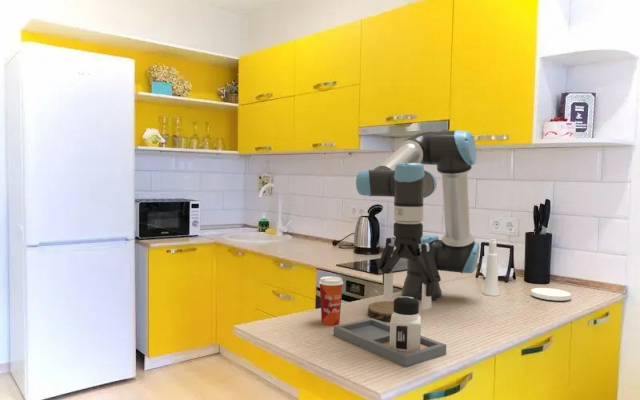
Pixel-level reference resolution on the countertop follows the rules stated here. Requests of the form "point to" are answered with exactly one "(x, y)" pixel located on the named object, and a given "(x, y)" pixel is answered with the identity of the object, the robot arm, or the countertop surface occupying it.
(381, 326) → the two-bay tray
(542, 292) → the plastic lid
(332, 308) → the paper cup
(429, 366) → the countertop surface
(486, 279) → the cosmetic bottle
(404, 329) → the container
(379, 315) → the brown disc
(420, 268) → the robot arm
